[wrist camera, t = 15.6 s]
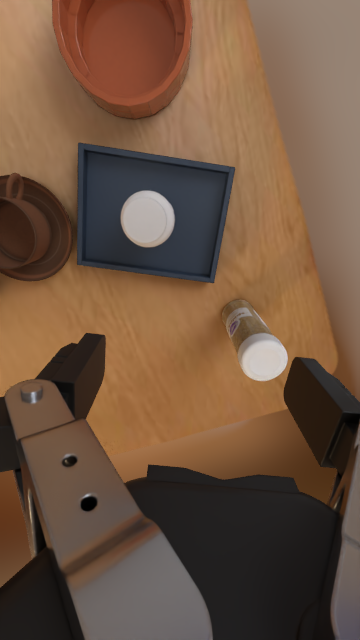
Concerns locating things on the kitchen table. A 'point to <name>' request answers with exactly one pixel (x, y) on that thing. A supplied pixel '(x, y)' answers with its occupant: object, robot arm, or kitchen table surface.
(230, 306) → the sprinkles bottle
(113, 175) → the tray
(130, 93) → the bowl
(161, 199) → the pill bottle
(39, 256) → the cup and saucer
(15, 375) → the kitchen table surface
